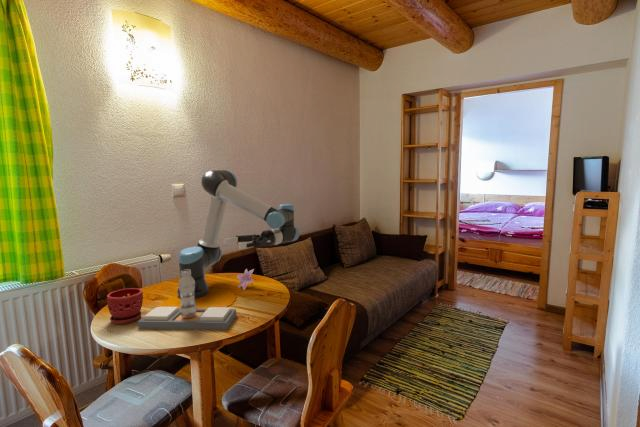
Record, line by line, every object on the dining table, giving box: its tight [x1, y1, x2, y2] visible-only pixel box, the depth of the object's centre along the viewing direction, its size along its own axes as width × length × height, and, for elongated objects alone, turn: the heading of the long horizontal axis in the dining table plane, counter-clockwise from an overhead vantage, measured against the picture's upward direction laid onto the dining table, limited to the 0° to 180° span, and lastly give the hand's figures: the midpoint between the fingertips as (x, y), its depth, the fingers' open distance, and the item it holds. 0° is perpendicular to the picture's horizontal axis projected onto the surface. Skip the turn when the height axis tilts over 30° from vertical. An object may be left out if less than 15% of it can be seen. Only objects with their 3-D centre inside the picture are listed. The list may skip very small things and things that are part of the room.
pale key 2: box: [200, 306, 232, 321], centre depth 138 cm, size 9×9×2 cm
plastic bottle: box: [177, 269, 198, 318], centre depth 137 cm, size 6×7×20 cm
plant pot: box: [106, 287, 144, 325], centre depth 141 cm, size 13×13×12 cm
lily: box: [236, 268, 255, 291], centre depth 180 cm, size 12×12×10 cm
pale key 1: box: [143, 306, 179, 320], centre depth 139 cm, size 9×9×2 cm
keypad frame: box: [137, 308, 237, 331], centre depth 138 cm, size 13×36×3 cm, turn 88°
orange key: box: [175, 312, 203, 321], centre depth 138 cm, size 9×9×2 cm
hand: (231, 244), depth 149 cm, fingers open, 13 cm apart
